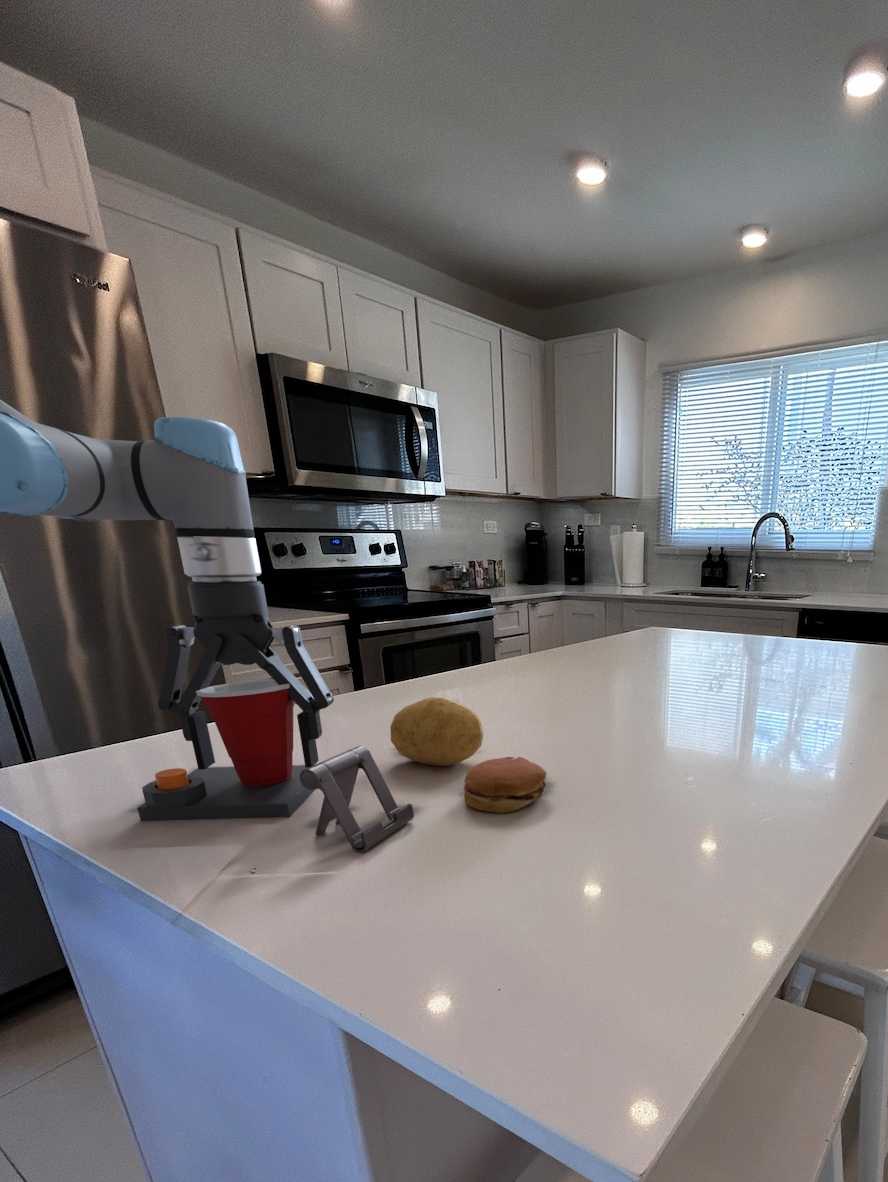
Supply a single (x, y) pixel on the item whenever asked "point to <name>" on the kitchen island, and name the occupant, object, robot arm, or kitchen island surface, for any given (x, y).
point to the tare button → (172, 778)
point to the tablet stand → (338, 788)
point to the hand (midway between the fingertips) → (259, 765)
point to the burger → (504, 784)
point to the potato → (436, 732)
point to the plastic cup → (254, 728)
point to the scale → (223, 797)
